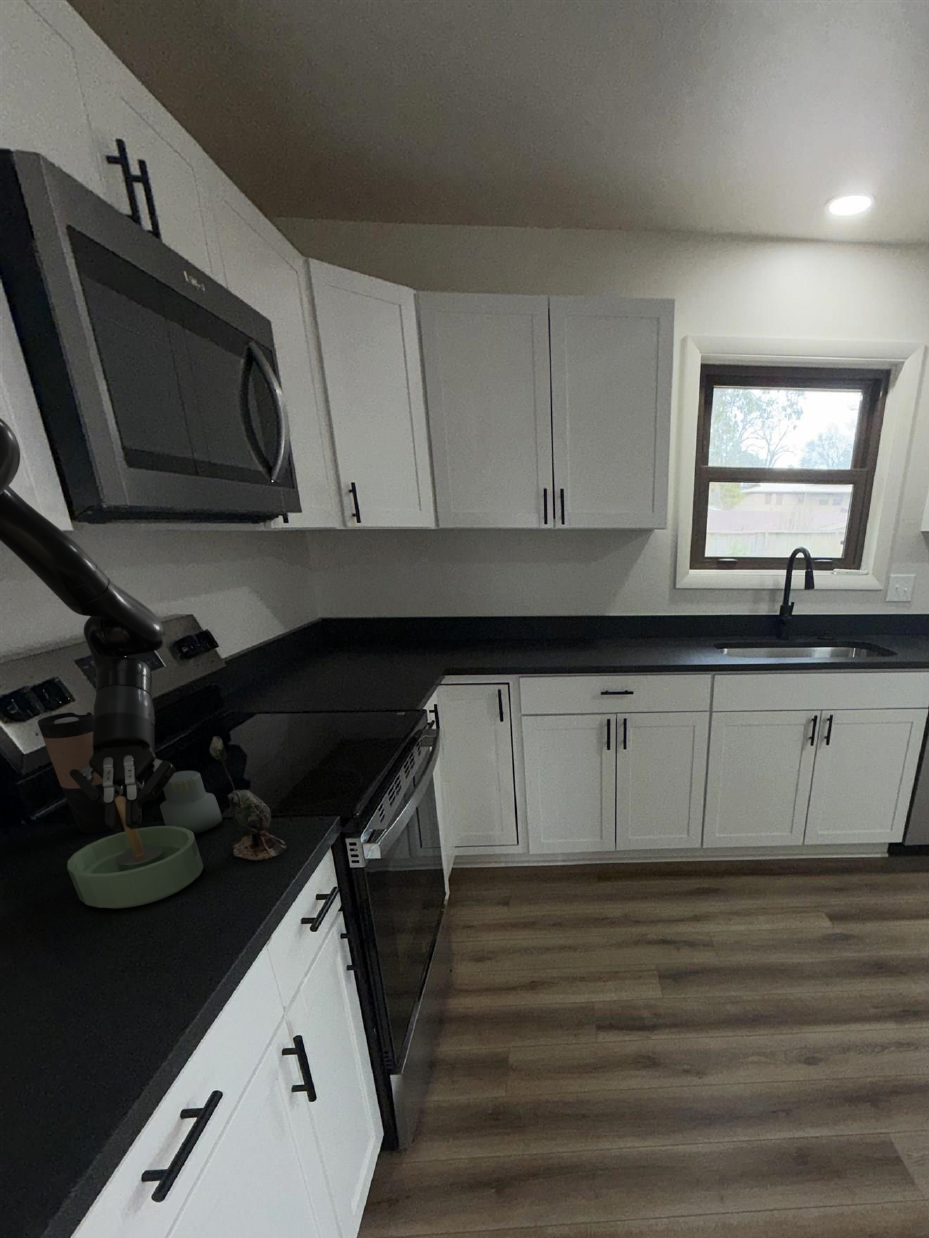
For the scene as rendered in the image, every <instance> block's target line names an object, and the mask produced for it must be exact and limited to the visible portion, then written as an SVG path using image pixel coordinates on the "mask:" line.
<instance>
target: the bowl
mask: <svg viewBox="0 0 929 1238" xmlns="http://www.w3.org/2000/svg"><path fill="white" fill-rule="evenodd" d="M137 832H138V834H139V837H140V840H141V843H142V846H149V845H155V846H160V847H161V848H162V849H163V852H164V855H165V859H163V860H161V861H158V862H155V863H153V864H150V865H147V866H144V867H140V868H136V869H132V870H128V871H122V872H119V869H118V867H117V864H116V861H115V860H116V858H117V856H119V855H120V854H121V853H123V852H125V851H128V850H130V849H131V846H130V844H129V841H128V838H127V835H126V832H125V831H120V832H117V833H115V834H114V833H113V834H112V835H108V836H105V837H102V838H100V839H98V840H96V841H94V842H92V843H89V844H87V845H85V846H83V847H82V848H80V849H79V850H77V851H76V852H75V853H73V854H72V855H71V856H70V858H69V859H68V860H67V864H66V867H67V871H68V874H69V877H70V879H71V881H72V883H73V886H74V889H75V891H76V894H77V896H78V899H79V900H80V901H81V902H83V903H84V905H86V906H90V907H94V908H99V909H128V908H134V907H141V906H144V905H149V904H151V903H155V902H157V901H160V900H163V899H166V898H168V897H170V896H172V895H175V894H176V893H178V892H180V891H181V890H184V889H185V888H186V887H188V886H189V885H190V884H192V883H193V882H194V881H195V880H196V879H197V878H198V877H199V876H201V874H202V872H203V869H204V864H203V861H202V857H201V854H200V851H199V848H198V844H197V841H196V838H195V834H193V832H192V831H190V830H188V829H186V828H182V827H176V826H166V825H155V826H147V827H140V828H139V827H138V828H137Z"/></svg>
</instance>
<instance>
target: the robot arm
mask: <svg viewBox="0 0 929 1238" xmlns="http://www.w3.org/2000/svg"><path fill="white" fill-rule="evenodd" d="M20 463H21V448H20V444H19V442H18V439H17V436H16V434H15V432H14V431H13V430H12V428H11V427H10V426H9V425H8V423H7V422H6V421H4V419H3V418H1V417H0V542H2V543H3V544H4V545H5V547H7V548H8V549H9V550H10V551H11V552H12V553H14V554H15V555H16V557H17V558H19V559H20V560H21V562H23V563H24V564H25V565H26V566H27V567H28V568H29V569H30V570H31V572H33V573H34V574H35V575H36V576H37V577H38V578H39V579H40V580H41V582H43V583H44V585H46V586H47V587H48V588H49V590H50V591H51V592H53V594H55V596H56V597H57V598H58V599H59V600H60V601H61V602H62V603H63V604H64V605H65V606H66V607H67V608H68V609H70V610H71V611H72V612H73V613H75V614H78V615H80V616H84V617H88V618H87V620H86V621H85V623H84V625H83V636H84V639H85V642H86V644H87V647H88V649H89V652H90V656H91V658H92V661H93V665H94V668H95V672H96V681H95V683H96V685H95V686H96V687H95V688H96V689H95V692H96V693H95V700H94V704H93V716H94V717H93V755H92V757H91V759H90V760H89V765H88V766H86V767H84V768H83V769H81V770H77V769H73V770H71V771H70V772H69V774H70V776H71V777H72V778H73V779H74V781H75V782H76V783H77V784H78V785H79V786H80V788H81V789H82V790H83V791H84V792H85V794H86V795H87V796H88V797H89V798H90V799H91V800H92V801H93V802H95V803H96V804H97V805H99V806H105V823H106V825H108V826H109V827H110V828H111V829H112V830H111V831H114V832H119V831H120V832H122V829H123V825H122V821H121V818H120V815H119V812H118V809H117V806H116V803H115V799H116V797H118V796H122V795H123V793H124V786H126V799H127V801H126V802H125V824H126V826H127V827H128V828H130V829H138V825H139V826H140V825H141V824H142V821H143V818H142V817H143V812H142V810H143V804H144V803H145V802H148V801H155V800H157V798H158V797H159V796H160V795H161V793H162V791H163V788H164V787H165V786H166V784H167V783H168V781H169V780H170V779H171V777H172V776H173V774H174V773H175V772H177V770H176V768H175V766H174V765H173V764H172V763H171V762H170V761H168V760H167V759H166V760H165V759H164V760H161V759H159V758H158V756H157V755H156V753H155V750H156V749H155V748H156V746H155V743H156V741H155V737H156V736H155V735H156V734H155V733H156V731H155V725H156V717H155V707H154V701H153V673H152V670H151V668H150V667H149V665H147V663H145V662H143V661H142V660H139V659H137V658H133V657H129V656H135V655H140V654H141V655H142V654H146V653H152V652H155V651H158V650H160V649H161V648H162V647H163V646H164V644H165V643H166V640H167V639H166V637H167V636H166V635H167V634H166V630H165V627H164V625H163V623H162V621H161V619H159V617H158V616H157V614H155V613H154V611H152V609H150V608H149V607H148V606H146V605H145V604H144V603H143V602H141V601H140V600H138V599H137V598H135V597H134V596H133V595H131V594H130V593H129V592H127V591H126V590H124V589H123V588H121V587H120V586H118V585H117V584H116V583H115V582H113V581H112V580H111V579H110V577H109V576H108V575H107V574H106V573H105V572H104V570H103V569H102V568H101V567H100V566H99V565H98V564H97V562H96V561H95V560H94V559H93V558H92V557H91V556H90V555H89V554H88V553H87V551H86V550H85V549H84V548H82V547H81V545H80V544H79V543H77V542H76V541H75V540H74V539H73V538H71V537H70V536H69V535H68V534H67V533H65V532H64V531H63V530H62V529H60V527H58V526H56V525H55V524H54V523H52V522H51V521H50V520H49V519H48V518H46V517H45V516H44V515H43V514H41V513H40V512H39V511H37V510H36V509H35V508H34V507H32V505H30V504H29V503H27V501H25V499H23V498H22V497H21V496H20V495H19V494H18V493H17V492H16V491H15V490H14V489H13V488H12V487H11V486H10V485H11V483H12V482H13V481H14V479H15V477H16V475H17V473H18V471H19V468H20V465H21V464H20ZM152 771H153V773H152ZM95 772H96V773H97V774H98V775H99V776H100V777H101V778H102V779H103V787H104V795H102V794H101V793H100V792H99V791H98V790H97V789H96V787H95V786H94V785H93V784H92V783H91V782H94V776H93V774H94V773H95ZM151 773H152V774H151ZM150 774H151V776H150V777H149V779H148V780H147V782H146V783H145V780H146V778H147V777H148V776H149V775H150Z"/></svg>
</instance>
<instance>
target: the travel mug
mask: <svg viewBox="0 0 929 1238" xmlns="http://www.w3.org/2000/svg"><path fill="white" fill-rule="evenodd" d="M93 717H94V713H92V712H89V711H87V712H86V714H76V713H75V712H72V711H71V712H70V711H69V712H62V713H56V714H51V715H48V716H45V717H42V718H40V719H38V720H37V725H38V728H39V731H40V734H41V736H42V740H43V742H44V744H45V747H46V750H47V753H48V756H49V758H50V760H51V764H52V766H53V770H54V771H55V774H56V777H57V780H58V782H59V785H60V787H61V790H62V792H63V795H64V797H65V800H66V802H67V804H68V806H69V808H70V810H71V813H72V816H73V818H74V820H75V822H76V824H77V827H78V829H79V831H80V832H82V833H84V834H97V833H99V834H100V833H104V832H108V831H113V830H112V829H111V828H110V827H109V826H108V825H106V823H105V806H99V805H97V804H96V803H95V802H93V801H92V800H91V799H90V798H89V797H88V796H87V795H86V794H85V792H84V791H83V790H82V789H81V788H80V786H79V785H78V784H77V783H76V782H75V781H74V779H73V778H72V777H71V776H70V774H69V772H70V771H71V770H73V769H77V770H81V769H83V768H84V767H86V766H88V765H89V760H90V759H91V757H92V755H93ZM93 776H94V782H91V783H92V784H93V785H94V786H95V787H96V789H97V790H98V791H99V792H100V793H101V794H102V795H104V787H103V779H102V778H101V777H100V776H99V775H98V774H97V773H96V772H95V773H94V774H93ZM122 826H123V823H122Z"/></svg>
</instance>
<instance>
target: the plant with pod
mask: <svg viewBox="0 0 929 1238" xmlns="http://www.w3.org/2000/svg"><path fill="white" fill-rule="evenodd" d="M209 753H210V755H211V756H212V758H214V759H215V760H216V761H218V762H221V765H222V767H223V768H224V771H225V773H226V775H227V777H228V779H229V782H230V784H231V786H232V789H233V791H232V792H231V793H229V794H228V795H227V800H228V801H229V805H230V809H231V812H230V813H231V815H232V819H233V822H234V828H235V830H236V831H235V832H236V833H237V834H238V835H239V836H240V837H242V838H241V840H239V841H236V842H234V843H232V848H233V852H232V855H233V856H234V857H238V858H241V859H247V860H250V861H257V862H258V861H264V860H269V858H271V859H272V858H273V857H276V856H279V855H282V854H284V852H285V851H286V850H288V849H287V848H288V847H287V845H286V842H284V841H285V840H283V839H280V837H278V836H277V835H273V834H270V833H268V832H267V831H266V830H267V829H269V828H270V824H271V822H272V814H271V809H270V808H269V806H267V804H265V802H264V801H263V800H262V799H261V798H259V797H258V796H257V795H255V794H254V793H252V792H251V791H250V790H248V789H236V787H235V785H234V782H233V779H232V777H231V775H230V773H229V770H228V769H227V763H226V761H225V760H227V755H228V754H227V751H226V748H225V745H224V741H223V739H222V738H221V737H220V736H217V735H216V736H213V737H212V740H211V742H210V746H209Z"/></svg>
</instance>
